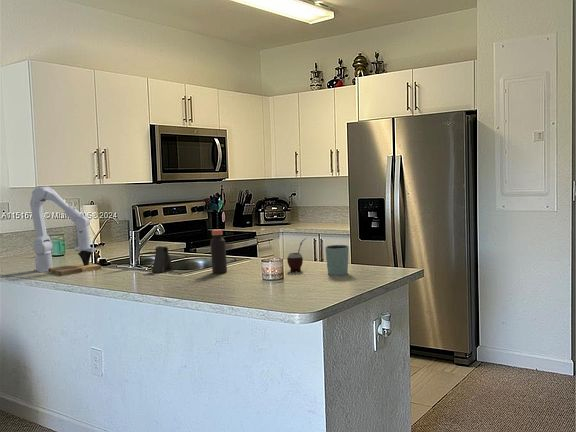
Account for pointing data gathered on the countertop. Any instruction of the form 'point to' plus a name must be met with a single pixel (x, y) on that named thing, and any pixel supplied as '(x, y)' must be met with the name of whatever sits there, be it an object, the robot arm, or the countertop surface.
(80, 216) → the robot arm
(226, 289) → the countertop surface
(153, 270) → the door stopper
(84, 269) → the oak plank
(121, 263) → the countertop surface
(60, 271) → the walnut plank
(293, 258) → the mate gourd
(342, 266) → the grey-green cup
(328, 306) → the countertop surface
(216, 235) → the bottle
